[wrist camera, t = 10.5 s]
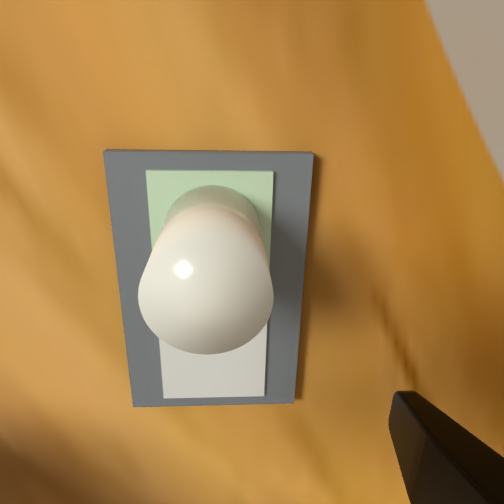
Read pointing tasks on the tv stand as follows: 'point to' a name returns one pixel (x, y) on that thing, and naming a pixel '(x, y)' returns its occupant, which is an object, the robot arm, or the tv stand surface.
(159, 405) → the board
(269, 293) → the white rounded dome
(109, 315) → the tv stand surface
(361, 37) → the tv stand surface
